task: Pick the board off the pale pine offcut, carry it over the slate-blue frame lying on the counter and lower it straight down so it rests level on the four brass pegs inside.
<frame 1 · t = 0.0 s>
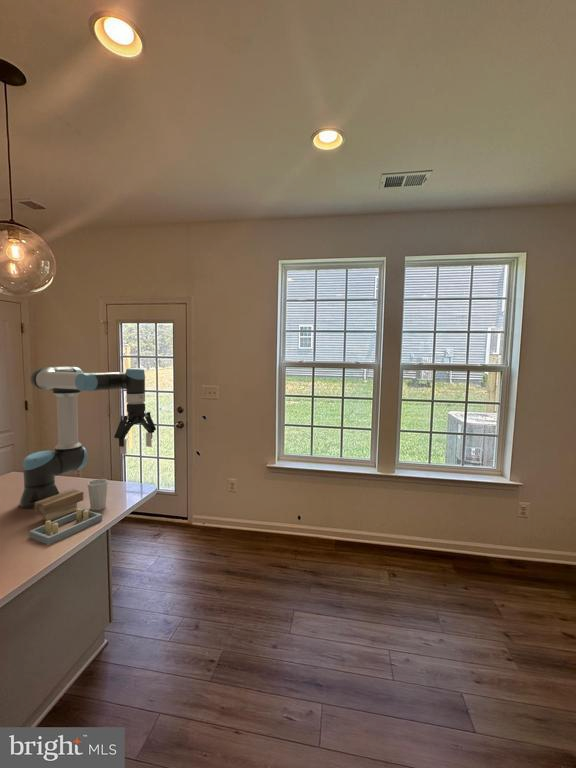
hand: (136, 450, 145), 28 cm above the table, fingers open, 13 cm apart
frame: (67, 528, 130), on the table
board: (60, 505, 142), point 4 cm above the table, touching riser
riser: (60, 514, 142), on the table
cup: (98, 507, 150), on the table
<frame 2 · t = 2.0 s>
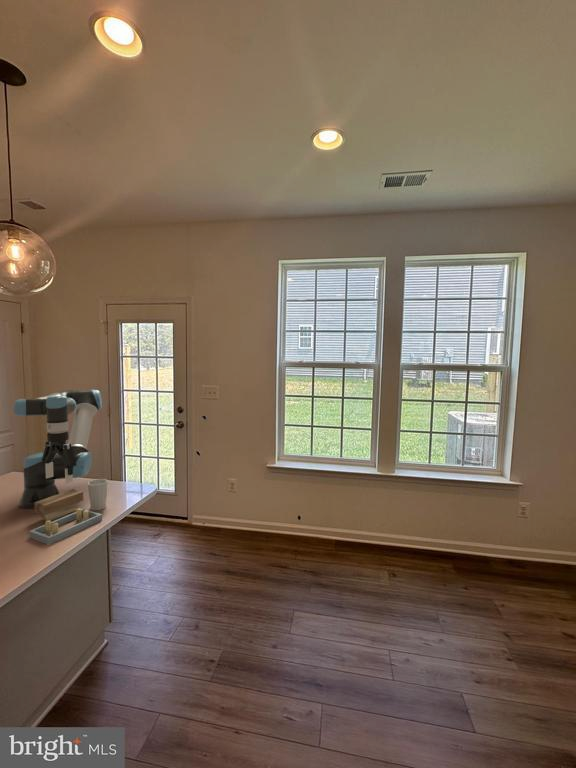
hand: (59, 479, 141), 16 cm above the table, fingers open, 13 cm apart
nothing on the table moved.
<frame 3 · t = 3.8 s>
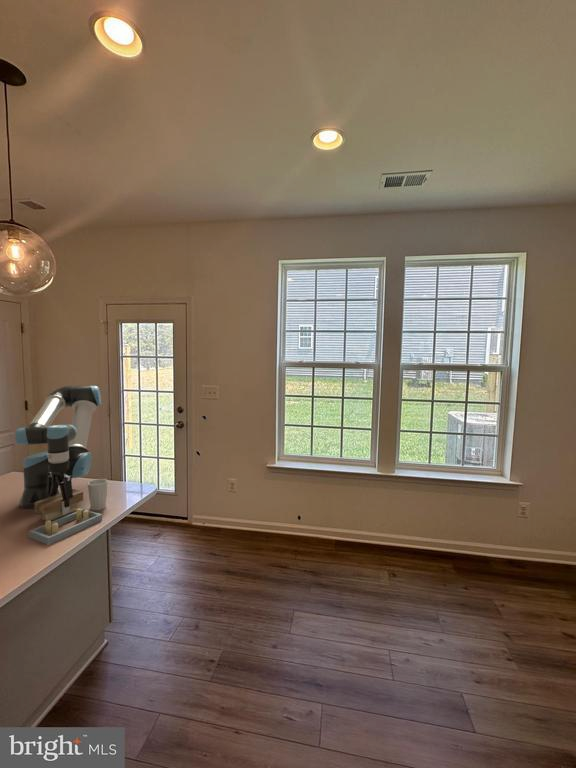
hand: (60, 512, 142), 1 cm above the table, fingers closed on board, 7 cm apart
board: (60, 505, 142), point 4 cm above the table, touching gripper, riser
everything else where it was.
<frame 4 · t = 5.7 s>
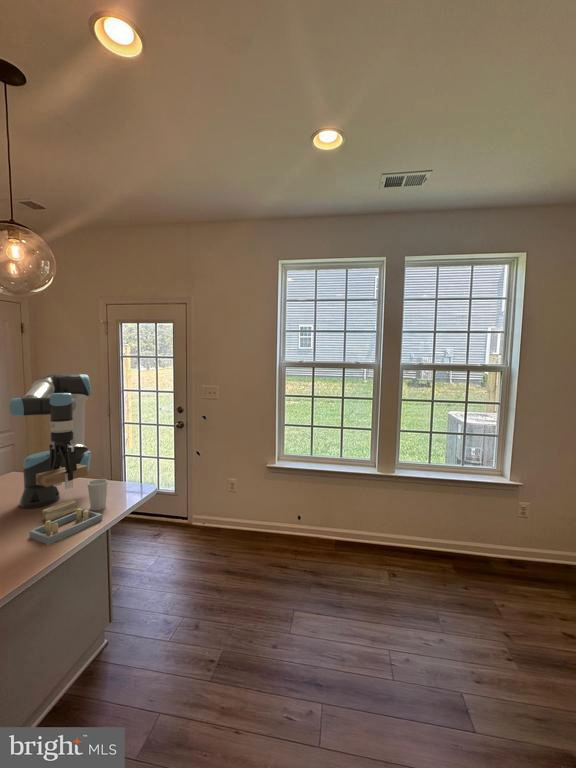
hand: (63, 486, 132), 16 cm above the table, fingers closed on board, 7 cm apart
board: (63, 479, 132), point 19 cm above the table, touching gripper
everything else where it was.
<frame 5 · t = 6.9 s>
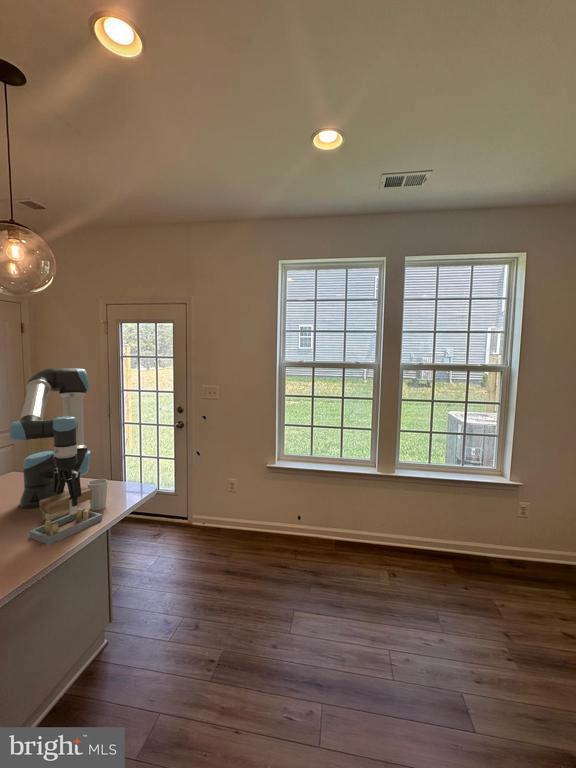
hand: (67, 511, 130), 7 cm above the table, fingers closed on board, 7 cm apart
board: (67, 504, 130), point 10 cm above the table, touching gripper
everything else where it was.
when the fingers open (4 cm above the table, at t = 7.7 s): board drops 2 cm, resting on frame.
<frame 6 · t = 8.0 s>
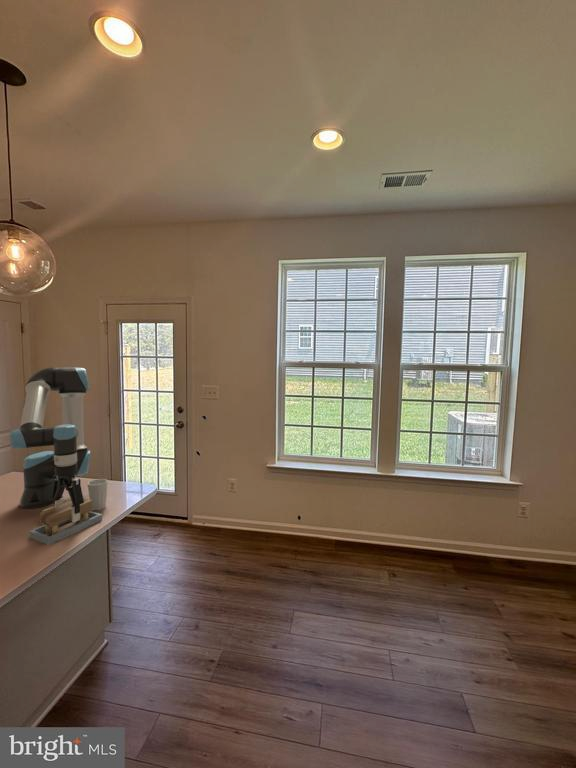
hand: (67, 518, 130), 4 cm above the table, fingers open, 10 cm apart
board: (67, 516, 130), point 5 cm above the table, touching frame
everything else where it was.
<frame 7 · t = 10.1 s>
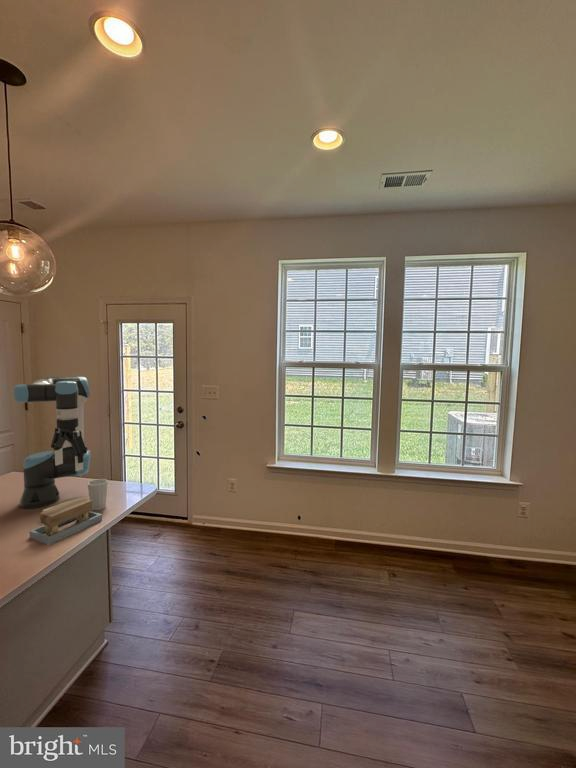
hand: (69, 467, 137), 22 cm above the table, fingers open, 13 cm apart
nothing on the table moved.
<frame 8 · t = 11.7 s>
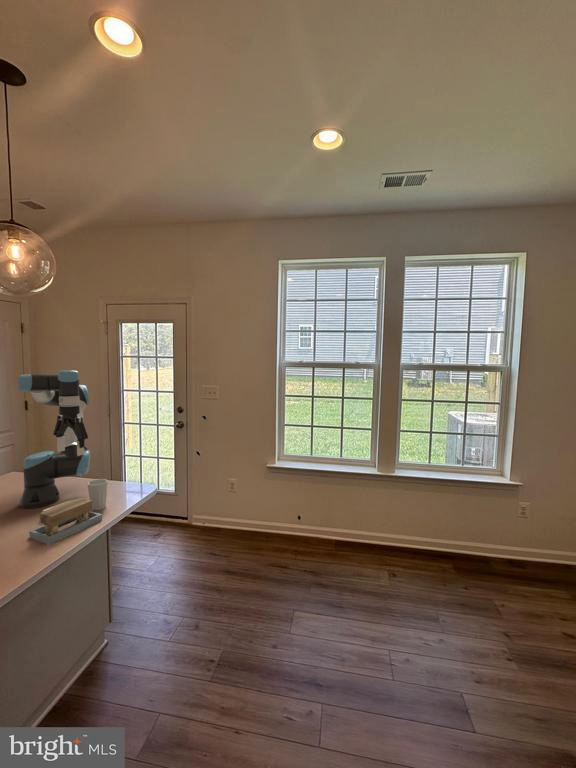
hand: (70, 453, 143), 27 cm above the table, fingers open, 13 cm apart
nothing on the table moved.
at the end: board 0.1 cm off-centre on the frame, point 5.0 cm above the frame's base; board tilted 0°; the gripper is holding nothing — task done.
